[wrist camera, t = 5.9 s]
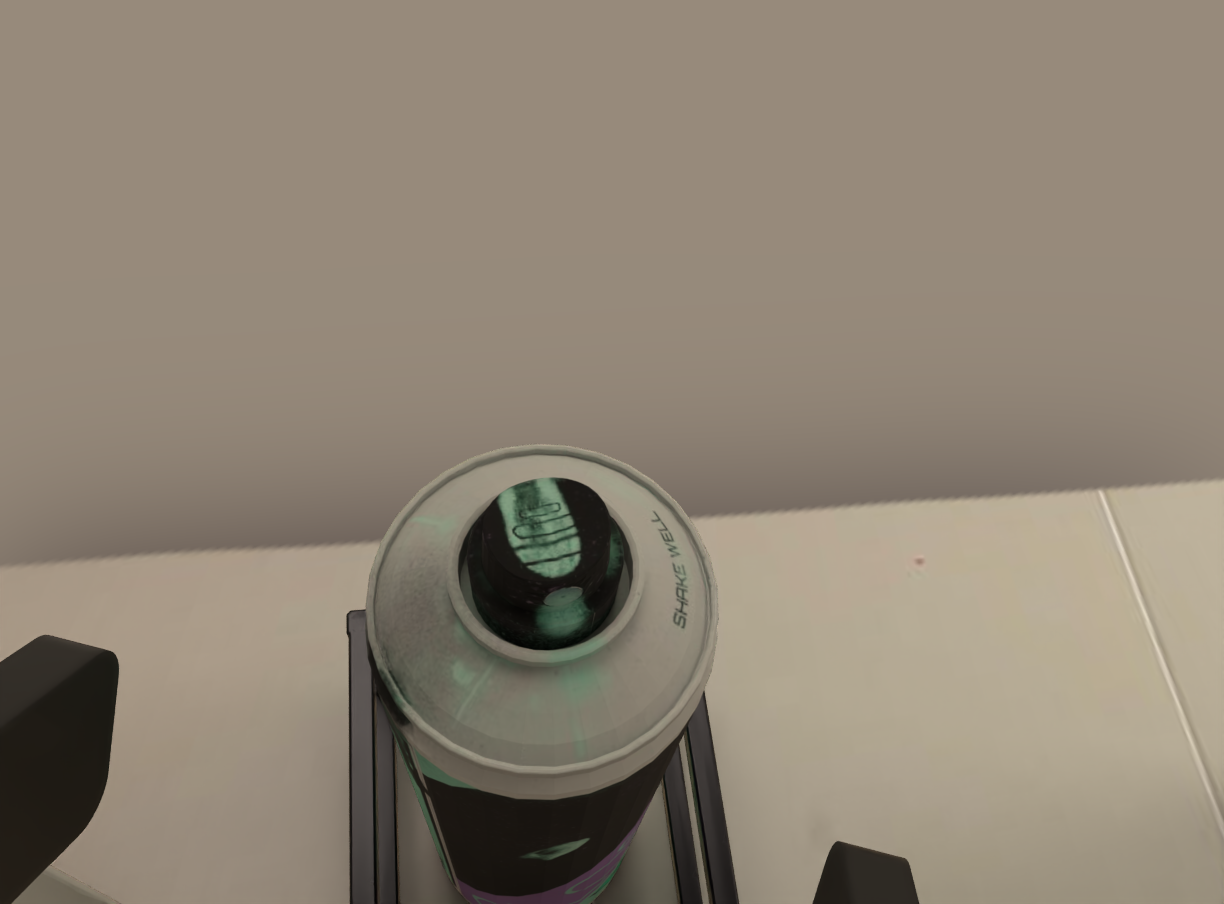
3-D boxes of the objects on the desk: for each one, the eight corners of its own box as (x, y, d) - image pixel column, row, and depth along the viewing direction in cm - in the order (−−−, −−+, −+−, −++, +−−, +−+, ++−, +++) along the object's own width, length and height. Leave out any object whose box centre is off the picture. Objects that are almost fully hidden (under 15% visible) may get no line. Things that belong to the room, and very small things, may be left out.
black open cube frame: (382, 1011, 29) (347, 996, 23) (376, 691, 33) (345, 610, 27) (704, 970, 30) (749, 945, 24) (660, 665, 34) (688, 581, 28)
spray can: (536, 972, 30) (560, 835, 12) (396, 831, 31) (242, 535, 14) (665, 817, 32) (837, 518, 15) (528, 693, 34) (538, 289, 16)
